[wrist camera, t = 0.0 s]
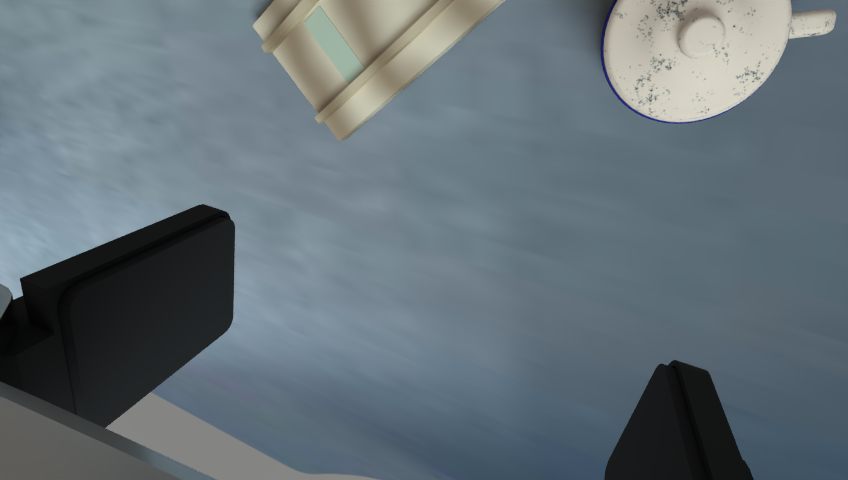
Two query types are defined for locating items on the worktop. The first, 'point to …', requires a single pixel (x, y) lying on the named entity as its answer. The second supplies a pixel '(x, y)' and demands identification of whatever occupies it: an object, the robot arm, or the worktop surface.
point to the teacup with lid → (698, 52)
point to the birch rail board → (362, 49)
